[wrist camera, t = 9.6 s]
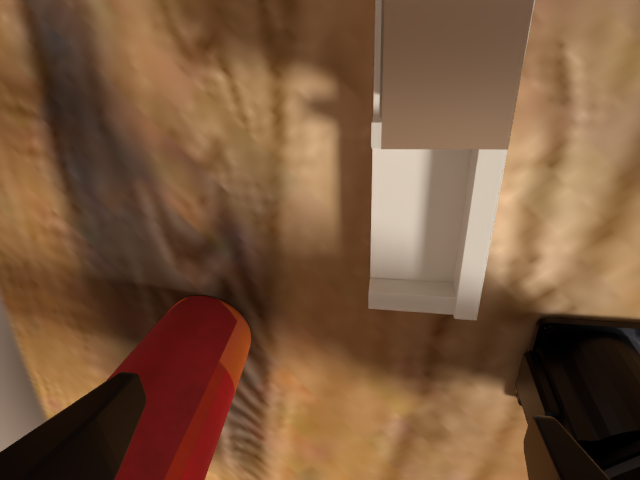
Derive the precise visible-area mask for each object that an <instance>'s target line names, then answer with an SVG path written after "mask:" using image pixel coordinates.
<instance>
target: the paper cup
mask: <svg viewBox="0 0 640 480" xmlns="http://www.w3.org/2000/svg"><path fill="white" fill-rule="evenodd" d="M250 345H251V330H250V327H249V325H248V323H247V321H246V320H245V318H244V317H243V316H242V315H241V313H240V312H239V311H238V310H236V309H235V308H234V307H233V306H231V305H230V304H228V303H226V302H224V301H222V300H220V299H217V298H214V297H210V296H204V295H195V296H189V297H186V298H184V299H182V300H180V301H178V302H177V303H176V304H175V305H174V306H173V307H172V308H171V309H170V310H169V311H168V312H167V313H166V314H165V315H164V316H163V317H162V318H161V320H160V321H159V322H158V323H157V324H156V325H155V326H154V327H153V328H152V330H151V331H150V332H149V333H148V334H147V335H146V336H145V337H144V339H143V340H142V341H141V342H140V343H139V344H138V345H137V346H136V348H135V349H134V350H133V351H132V352H131V353H130V354H129V356H128V357H127V358H126V359H125V360H124V361H123V362H122V364H121V365H120V366H119V367H118V368H117V369H116V370H115V371H114V373H113V374H112V375H111V376H110V377H109V378H108V379H107V380H109V379H110V378H112V377H113V376H115V375H116V374H118V373H120V372H131V373H137V374H138V375H139V377H140V379H141V382H142V385H143V387H144V390H145V393H146V398H147V399H146V405H145V408H144V410H143V413H142V415H141V418H140V420H139V423H138V425H137V428H136V430H135V433H134V435H133V438H132V440H131V443H130V445H129V448H128V450H127V452H126V455H125V457H124V460H123V462H122V464H121V467H120V469H119V471H118V473H117V475H116V477H115V479H114V480H205V477H206V474H207V471H208V468H209V466H210V463H211V460H212V457H213V454H214V451H215V449H216V446H217V443H218V440H219V437H220V434H221V431H222V429H223V426H224V423H225V420H226V417H227V414H228V411H229V408H230V406H231V403H232V400H233V397H234V394H235V391H236V388H237V385H238V382H239V379H240V377H241V374H242V371H243V368H244V365H245V362H246V358H247V355H248V352H249V349H250Z"/></svg>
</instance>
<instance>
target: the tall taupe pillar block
mask: <svg viewBox="0 0 640 480" xmlns="http://www.w3.org/2000/svg"><path fill="white" fill-rule="evenodd" d="M533 5H534V0H382V9H381V57H380V104H379V118H382V130H381V149H496V150H508V146H509V141H510V135H511V129H512V124H513V118H514V112H515V107H516V101H517V95H518V90H519V84H520V79H521V73H522V67H523V62H524V56H525V50H526V45H527V39H528V33H529V28H530V22H531V16H532V11H533Z"/></svg>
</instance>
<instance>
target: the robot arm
mask: <svg viewBox="0 0 640 480" xmlns="http://www.w3.org/2000/svg"><path fill="white" fill-rule="evenodd" d="M547 326H551V327H549V328H546V329H545V327H547ZM516 387H517V391H518V392H517V400H518V403H519V405H521V406H522V407H523V410H524V414H525V417H526V420H527V424H528V428H527V431H526V434H525V438H524V454H525V460H526V466H527V472H528V478H529V480H640V324H636V323H622V322H607V321H593V320H578V319H564V318H549V317H547V318H542V319H540V320H539V321H538V322H537V323H536V326H535V330H534V334H533V337H532V341H531V345H530V348H529V350H527V351H526V352H525V353H524V354H523V358H522V362H521V365H520V369H519V373H518V377H517V380H516ZM146 399H147V398H146V393H145V390H144V387H143V385H142V382H141V379H140V377H139V375H138V374H137V373H131V372H120V373H118V374H116V375H115V376H113V377H112V378H110V379H109V380H107V381H106V382H104V383H103V384H101V385H100V386H98V387H97V388H95V389H94V390H92V391H91V392H89V393H88V394H86V395H85V396H83V397H82V398H80V399H79V400H77V401H76V402H74V403H73V404H72V405H70V406H69V407H67V408H66V409H64V410H63V411H61V412H60V413H58V414H57V415H55V416H54V417H52V418H51V419H49V420H48V421H46V422H45V423H43V424H42V425H40V426H39V427H37V428H36V429H34V430H33V431H31V432H30V433H28V434H27V435H25V436H24V437H22V438H21V439H20V440H18V441H16V442H15V443H13V444H12V445H10V446H9V447H7V448H6V449H4V450H3V451H1V452H0V480H114V479H115V477H116V475H117V473H118V471H119V469H120V467H121V464H122V462H123V460H124V457H125V455H126V452H127V450H128V448H129V445H130V443H131V440H132V438H133V435H134V433H135V430H136V428H137V425H138V423H139V420H140V418H141V415H142V413H143V410H144V408H145V405H146Z"/></svg>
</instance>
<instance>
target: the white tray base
mask: <svg viewBox="0 0 640 480" xmlns="http://www.w3.org/2000/svg"><path fill="white" fill-rule="evenodd" d="M534 2H535V0H534ZM533 8H534V5H533ZM381 9H382V0H375V45H374V98H373V118H372V122H371V148H373V152H372V206H371V260H370V284H369V299H368V309H380V310H394V311H408V312H423V313H437V314H451V315H454V319H464V320H477V315H478V310H479V304H480V299H481V293H482V288H483V282H484V277H485V271H486V266H487V260H488V255H489V249H490V244H491V238H492V233H493V227H494V222H495V216H496V211H497V205H498V200H499V194H500V189H501V183H502V178H503V172H504V167H505V161H506V156H507V150H496V149H381V130H382V118H379V104H380V57H381ZM532 13H533V11H532ZM531 19H532V16H531ZM530 24H531V22H530ZM529 30H530V28H529ZM528 35H529V33H528ZM527 41H528V39H527ZM526 46H527V45H526ZM525 52H526V50H525ZM524 57H525V56H524ZM523 63H524V62H523ZM522 68H523V67H522ZM521 74H522V73H521ZM519 85H520V84H519ZM517 96H518V95H517Z"/></svg>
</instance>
